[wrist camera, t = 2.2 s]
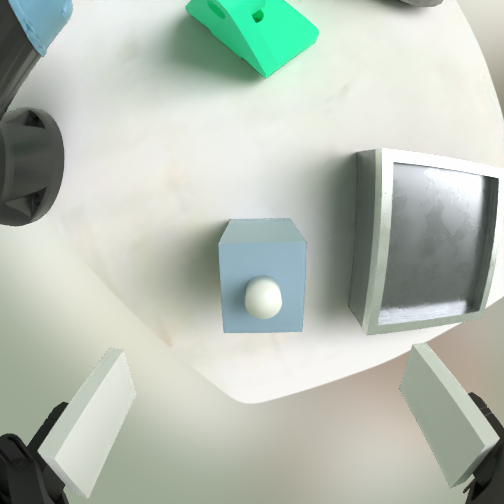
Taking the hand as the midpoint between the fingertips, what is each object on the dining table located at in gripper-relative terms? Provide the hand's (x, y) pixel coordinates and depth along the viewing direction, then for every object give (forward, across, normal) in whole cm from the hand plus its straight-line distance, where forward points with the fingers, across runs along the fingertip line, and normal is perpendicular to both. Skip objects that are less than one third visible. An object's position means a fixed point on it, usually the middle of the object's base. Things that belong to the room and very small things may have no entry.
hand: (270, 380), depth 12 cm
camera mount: (+20, -1, +25) cm, 32 cm away
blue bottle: (+20, 0, 0) cm, 20 cm away
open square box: (+20, +18, +2) cm, 26 cm away
